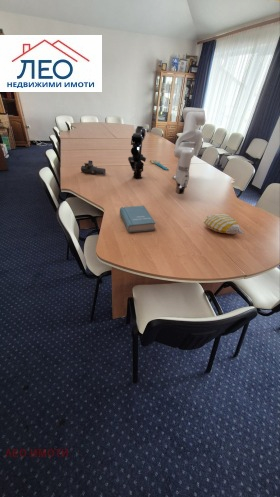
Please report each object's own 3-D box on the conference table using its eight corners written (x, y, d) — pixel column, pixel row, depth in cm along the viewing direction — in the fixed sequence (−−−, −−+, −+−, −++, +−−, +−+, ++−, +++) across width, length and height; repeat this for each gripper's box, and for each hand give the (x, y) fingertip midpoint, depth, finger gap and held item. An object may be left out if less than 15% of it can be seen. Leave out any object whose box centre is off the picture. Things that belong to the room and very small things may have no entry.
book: (154, 230, 131) (155, 222, 128) (128, 232, 126) (128, 225, 124) (143, 212, 148) (143, 205, 145) (119, 214, 144) (120, 207, 141)
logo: (149, 161, 250) (149, 160, 250) (157, 160, 253) (157, 160, 252) (160, 170, 225) (160, 169, 224) (168, 170, 227) (168, 169, 227)
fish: (254, 225, 128) (232, 232, 118) (249, 236, 132) (228, 244, 123) (221, 208, 144) (199, 213, 134) (217, 218, 149) (196, 224, 139)
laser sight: (102, 176, 199) (102, 165, 193) (79, 173, 202) (78, 162, 196) (106, 173, 207) (106, 162, 201) (83, 170, 210) (82, 159, 204)
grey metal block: (178, 194, 167) (179, 188, 164) (175, 192, 170) (176, 186, 167) (183, 193, 169) (184, 187, 166) (180, 191, 172) (181, 185, 169)
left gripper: (150, 154, 169) (148, 175, 179) (140, 149, 183) (139, 168, 192) (137, 155, 165) (136, 176, 175) (128, 149, 179) (127, 169, 188)
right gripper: (194, 171, 154) (189, 196, 165) (182, 164, 166) (178, 187, 177) (185, 172, 151) (181, 197, 162) (173, 165, 163) (170, 188, 174)
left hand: (135, 172), depth 182 cm, fingers open, 9 cm apart
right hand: (179, 192), depth 169 cm, fingers closed on grey metal block, 4 cm apart
